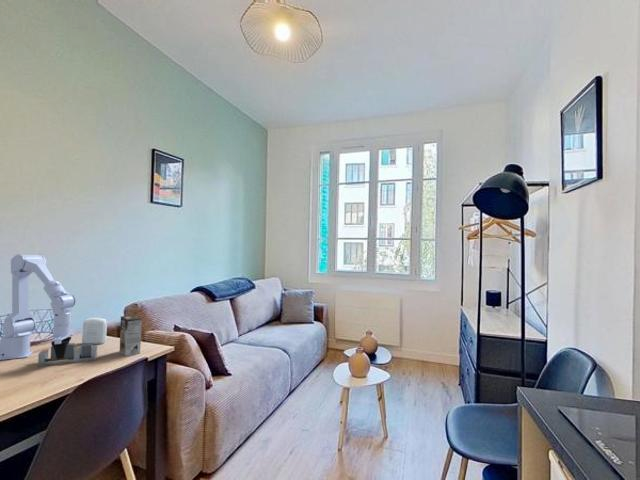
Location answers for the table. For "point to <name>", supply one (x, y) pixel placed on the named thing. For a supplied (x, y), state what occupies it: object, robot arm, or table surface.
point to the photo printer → (94, 331)
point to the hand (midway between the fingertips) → (60, 356)
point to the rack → (80, 354)
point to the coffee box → (130, 335)
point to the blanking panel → (68, 352)
